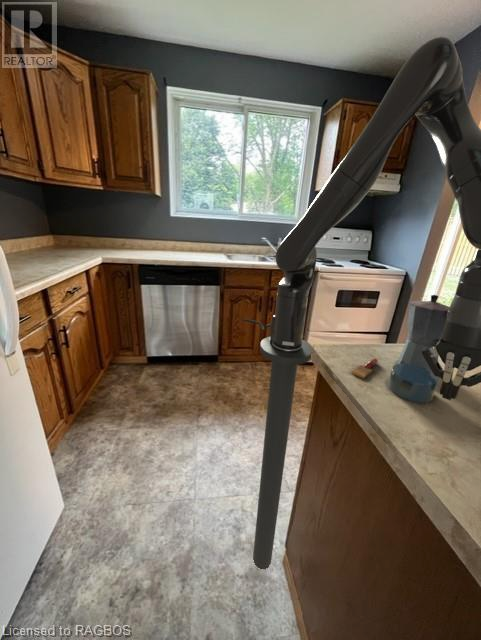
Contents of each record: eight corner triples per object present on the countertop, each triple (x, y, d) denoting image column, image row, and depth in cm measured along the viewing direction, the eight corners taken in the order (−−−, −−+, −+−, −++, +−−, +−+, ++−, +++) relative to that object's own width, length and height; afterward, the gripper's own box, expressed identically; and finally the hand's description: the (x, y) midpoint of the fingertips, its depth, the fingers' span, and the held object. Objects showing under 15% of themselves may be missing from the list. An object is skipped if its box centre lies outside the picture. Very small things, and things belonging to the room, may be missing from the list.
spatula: (363, 378, 66) (364, 373, 66) (351, 373, 68) (352, 368, 68) (380, 364, 74) (381, 360, 73) (369, 360, 76) (370, 355, 75)
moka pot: (408, 354, 80) (427, 288, 74) (459, 383, 67) (489, 305, 60) (381, 356, 78) (399, 289, 71) (429, 387, 64) (456, 306, 57)
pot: (379, 391, 62) (383, 374, 60) (397, 373, 69) (401, 358, 68) (424, 411, 56) (430, 392, 54) (438, 389, 63) (444, 372, 62)
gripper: (520, 325, 50) (489, 404, 55) (435, 309, 59) (416, 379, 64) (518, 334, 45) (485, 421, 50) (425, 315, 54) (406, 390, 59)
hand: (446, 397), depth 57 cm, fingers closed
